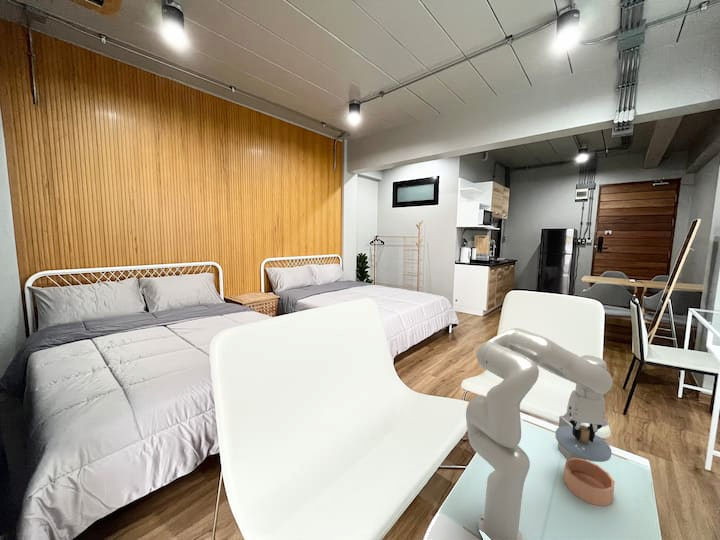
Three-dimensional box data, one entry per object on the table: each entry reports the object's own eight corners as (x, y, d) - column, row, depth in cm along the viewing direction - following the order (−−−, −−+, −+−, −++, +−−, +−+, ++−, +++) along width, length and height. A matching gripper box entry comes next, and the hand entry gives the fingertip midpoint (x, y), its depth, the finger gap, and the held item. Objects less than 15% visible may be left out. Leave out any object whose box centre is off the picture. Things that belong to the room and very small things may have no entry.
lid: (622, 465, 95) (625, 448, 94) (567, 457, 98) (569, 440, 97) (594, 432, 110) (596, 417, 109) (548, 425, 114) (549, 411, 113)
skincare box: (586, 463, 117) (591, 428, 115) (569, 463, 117) (573, 428, 115) (571, 447, 126) (575, 414, 123) (554, 447, 125) (559, 414, 123)
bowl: (621, 510, 98) (624, 494, 97) (574, 500, 101) (576, 485, 100) (598, 476, 111) (600, 462, 110) (557, 468, 115) (559, 455, 114)
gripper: (610, 388, 103) (603, 434, 106) (557, 382, 107) (552, 427, 109) (623, 400, 96) (616, 450, 98) (567, 394, 99) (561, 442, 102)
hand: (582, 437), depth 104 cm, fingers closed on lid, 3 cm apart
